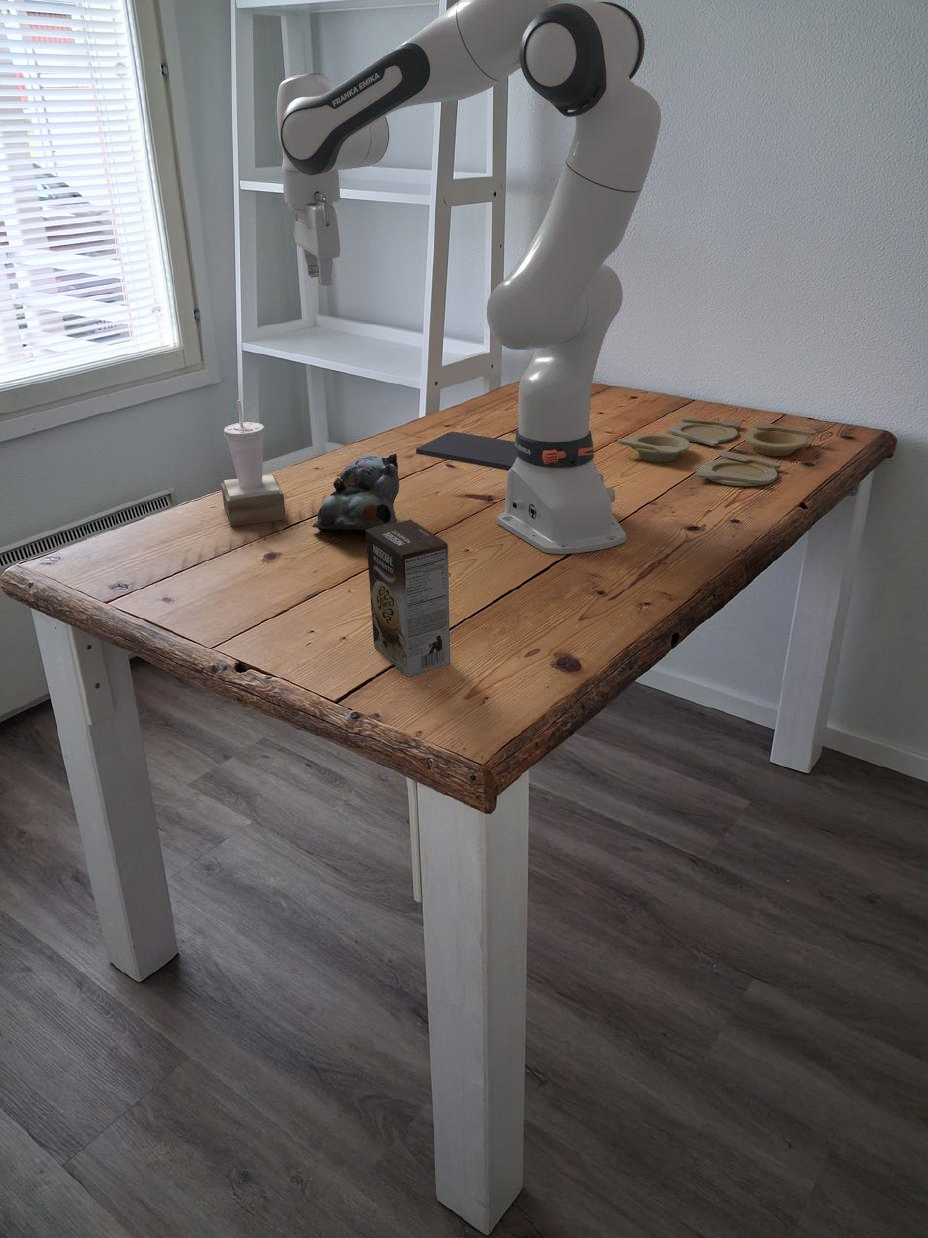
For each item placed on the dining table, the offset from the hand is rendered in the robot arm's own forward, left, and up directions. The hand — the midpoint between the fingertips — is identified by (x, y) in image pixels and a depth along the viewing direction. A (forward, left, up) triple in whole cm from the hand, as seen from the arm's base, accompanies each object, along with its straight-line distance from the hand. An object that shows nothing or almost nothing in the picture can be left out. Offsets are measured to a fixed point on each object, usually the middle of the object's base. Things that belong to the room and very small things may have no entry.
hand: (319, 280), depth 166 cm
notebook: (+4, -29, -35) cm, 46 cm away
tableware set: (-13, -71, -35) cm, 80 cm away
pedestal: (-12, +16, -34) cm, 40 cm away
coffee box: (-67, +5, -35) cm, 76 cm away
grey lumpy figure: (-25, +2, -35) cm, 43 cm away
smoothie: (-12, +16, -30) cm, 36 cm away
